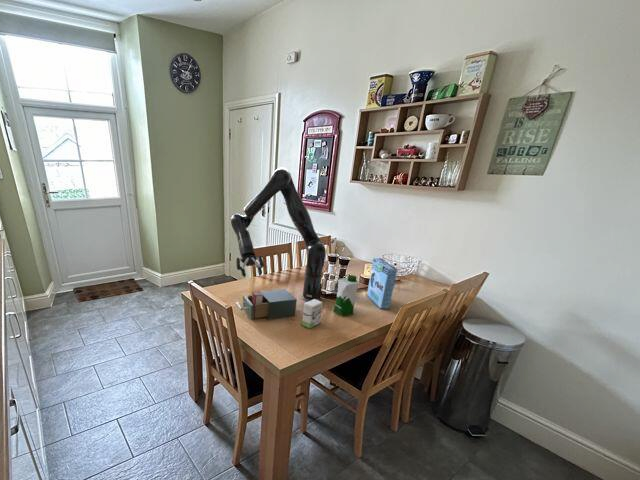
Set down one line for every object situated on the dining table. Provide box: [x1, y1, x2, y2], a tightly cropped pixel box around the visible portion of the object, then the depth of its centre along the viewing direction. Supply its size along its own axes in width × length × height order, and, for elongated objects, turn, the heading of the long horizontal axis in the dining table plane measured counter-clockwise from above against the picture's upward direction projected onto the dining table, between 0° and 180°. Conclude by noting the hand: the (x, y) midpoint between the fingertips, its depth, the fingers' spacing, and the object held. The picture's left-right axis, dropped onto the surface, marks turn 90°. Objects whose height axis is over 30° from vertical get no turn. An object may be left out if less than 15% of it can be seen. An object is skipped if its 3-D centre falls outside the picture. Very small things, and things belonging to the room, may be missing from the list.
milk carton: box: [333, 274, 360, 317], centre depth 169 cm, size 9×9×20 cm
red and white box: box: [251, 290, 263, 313], centre depth 166 cm, size 4×5×10 cm
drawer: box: [235, 294, 269, 321], centre depth 167 cm, size 18×13×8 cm
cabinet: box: [259, 288, 298, 320], centre depth 171 cm, size 15×14×10 cm
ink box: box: [301, 299, 323, 329], centre depth 158 cm, size 9×5×12 cm, turn 132°
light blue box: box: [366, 257, 398, 310], centre depth 182 cm, size 20×5×23 cm, turn 2°
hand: (252, 275), depth 169 cm, fingers open, 8 cm apart
